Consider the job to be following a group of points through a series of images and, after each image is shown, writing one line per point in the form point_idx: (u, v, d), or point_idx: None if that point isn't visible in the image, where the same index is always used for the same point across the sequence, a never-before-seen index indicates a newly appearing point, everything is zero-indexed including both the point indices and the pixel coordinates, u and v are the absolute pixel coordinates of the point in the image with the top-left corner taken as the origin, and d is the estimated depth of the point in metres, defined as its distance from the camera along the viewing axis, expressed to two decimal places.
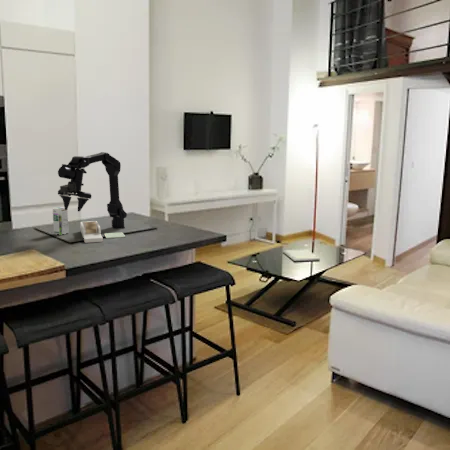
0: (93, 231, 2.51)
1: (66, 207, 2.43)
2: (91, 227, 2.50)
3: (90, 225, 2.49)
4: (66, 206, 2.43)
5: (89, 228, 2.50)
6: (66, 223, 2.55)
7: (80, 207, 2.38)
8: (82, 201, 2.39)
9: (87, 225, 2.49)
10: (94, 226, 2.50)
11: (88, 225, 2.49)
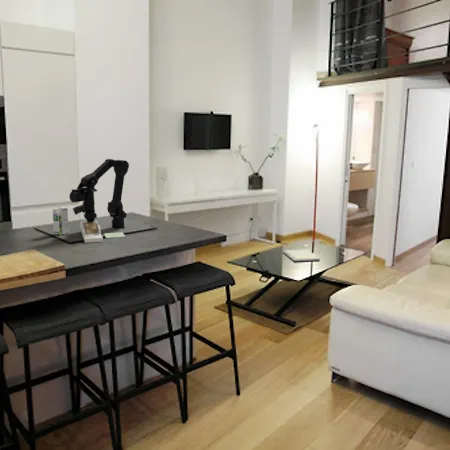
0: (93, 231, 2.51)
1: None
2: (91, 227, 2.50)
3: (90, 225, 2.49)
4: None
5: (89, 228, 2.50)
6: (66, 223, 2.55)
7: None
8: (90, 219, 2.54)
9: (87, 225, 2.49)
10: (94, 226, 2.50)
11: (88, 225, 2.49)
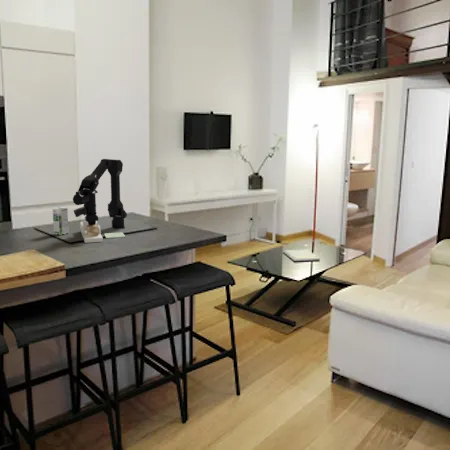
0: (95, 234, 2.44)
1: None
2: (92, 230, 2.43)
3: (91, 228, 2.42)
4: None
5: (90, 231, 2.43)
6: (66, 223, 2.55)
7: None
8: (91, 221, 2.47)
9: (88, 228, 2.42)
10: (96, 229, 2.43)
11: (89, 228, 2.42)
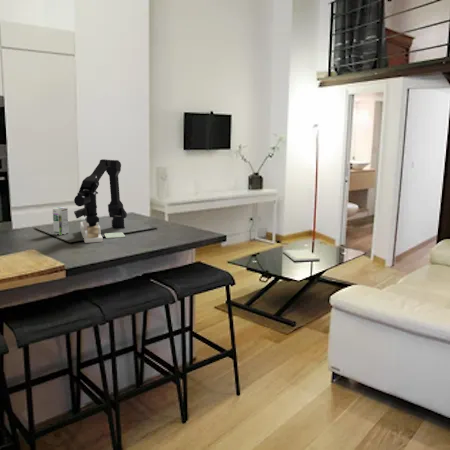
0: (95, 235, 2.41)
1: None
2: (93, 231, 2.40)
3: (92, 229, 2.40)
4: None
5: (91, 232, 2.40)
6: (66, 223, 2.55)
7: None
8: (92, 223, 2.45)
9: (89, 229, 2.39)
10: (96, 230, 2.41)
11: (90, 229, 2.40)
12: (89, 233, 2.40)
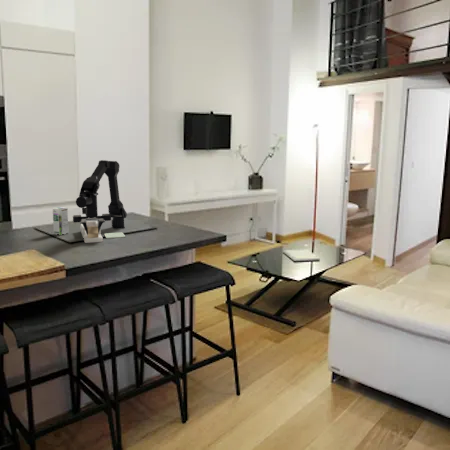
0: (95, 235, 2.41)
1: None
2: (93, 231, 2.40)
3: (92, 229, 2.40)
4: None
5: (91, 232, 2.40)
6: (66, 223, 2.55)
7: None
8: None
9: (89, 229, 2.39)
10: (96, 230, 2.41)
11: (90, 229, 2.39)
12: (89, 233, 2.40)
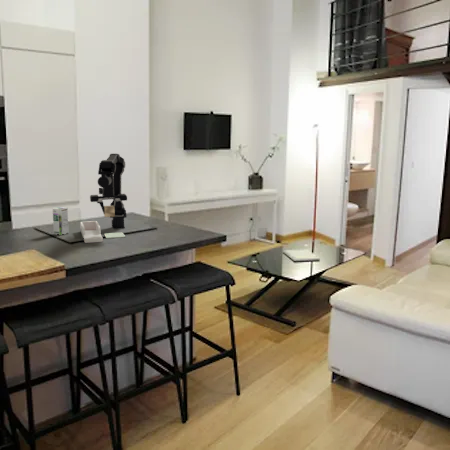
0: (112, 215, 2.46)
1: None
2: (110, 211, 2.46)
3: (109, 209, 2.45)
4: None
5: (108, 212, 2.45)
6: (66, 223, 2.55)
7: (102, 210, 2.48)
8: None
9: (106, 209, 2.45)
10: (113, 210, 2.46)
11: (107, 209, 2.45)
12: (106, 212, 2.45)
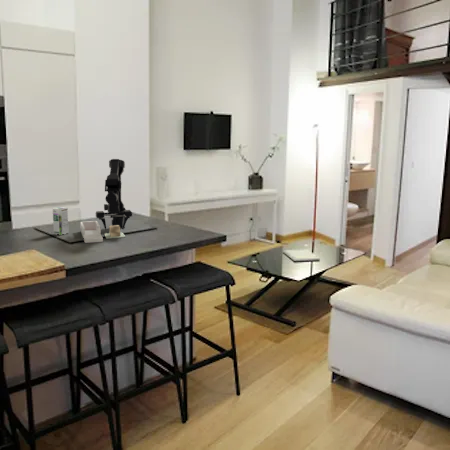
0: (117, 234, 2.51)
1: (122, 226, 2.54)
2: (115, 230, 2.50)
3: (114, 228, 2.49)
4: (122, 226, 2.54)
5: (113, 231, 2.50)
6: (66, 223, 2.55)
7: (104, 226, 2.51)
8: None
9: (111, 228, 2.49)
10: (118, 229, 2.50)
11: (112, 228, 2.49)
12: (112, 232, 2.49)
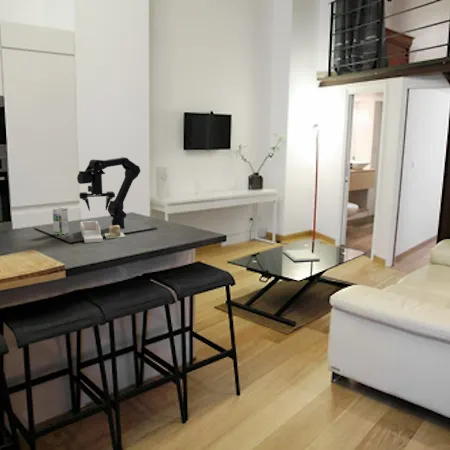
0: (117, 234, 2.51)
1: None
2: (115, 230, 2.50)
3: (114, 228, 2.49)
4: None
5: (113, 231, 2.50)
6: (66, 223, 2.55)
7: (87, 206, 2.59)
8: None
9: (111, 228, 2.49)
10: (118, 229, 2.50)
11: (112, 228, 2.49)
12: (112, 232, 2.49)
